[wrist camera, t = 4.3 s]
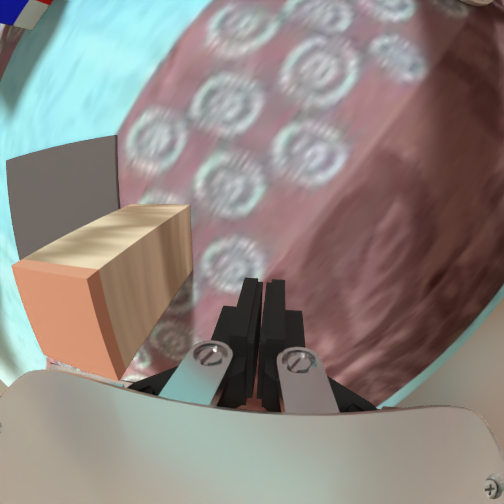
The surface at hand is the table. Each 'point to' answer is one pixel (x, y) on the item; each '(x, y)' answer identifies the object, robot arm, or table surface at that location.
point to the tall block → (106, 285)
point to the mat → (61, 190)
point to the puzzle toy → (22, 12)
